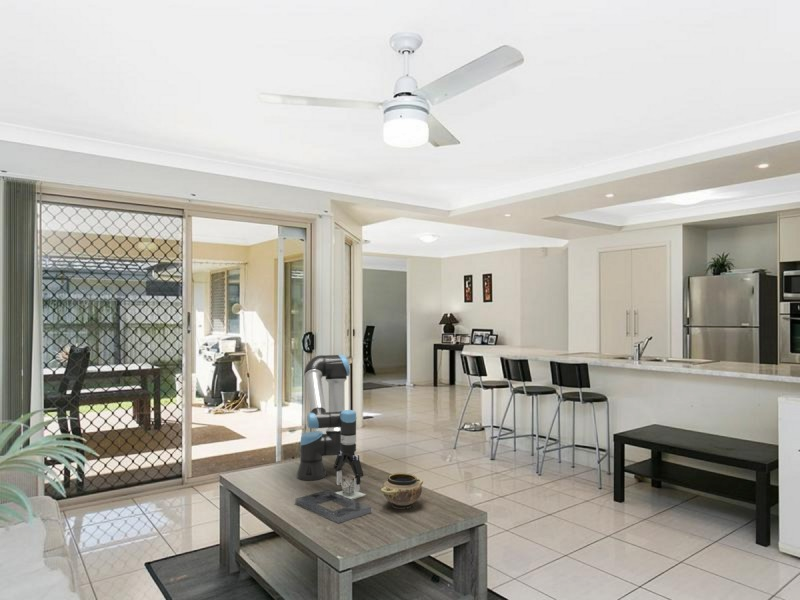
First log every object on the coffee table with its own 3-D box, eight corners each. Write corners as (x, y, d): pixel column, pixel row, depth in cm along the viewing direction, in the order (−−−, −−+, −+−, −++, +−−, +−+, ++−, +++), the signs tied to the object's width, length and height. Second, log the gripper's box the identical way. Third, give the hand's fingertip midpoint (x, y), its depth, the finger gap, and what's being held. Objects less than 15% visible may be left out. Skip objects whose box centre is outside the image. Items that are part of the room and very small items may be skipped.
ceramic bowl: (390, 522, 232) (396, 490, 230) (366, 501, 245) (371, 471, 243) (431, 509, 248) (437, 479, 246) (406, 490, 262) (411, 462, 259)
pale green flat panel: (330, 495, 260) (330, 494, 260) (350, 489, 268) (350, 488, 268) (345, 501, 251) (345, 500, 251) (365, 495, 259) (365, 494, 259)
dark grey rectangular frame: (295, 504, 247) (295, 498, 247) (327, 495, 260) (327, 489, 260) (338, 523, 224) (338, 517, 224) (371, 512, 237) (371, 506, 237)
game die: (352, 501, 260) (364, 486, 258) (339, 499, 254) (351, 483, 253) (346, 488, 266) (357, 473, 265) (333, 485, 261) (344, 470, 260)
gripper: (326, 440, 267) (326, 483, 266) (358, 449, 249) (358, 495, 248) (338, 437, 272) (338, 480, 271) (371, 446, 254) (370, 492, 253)
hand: (348, 487), depth 260 cm, fingers open, 13 cm apart
